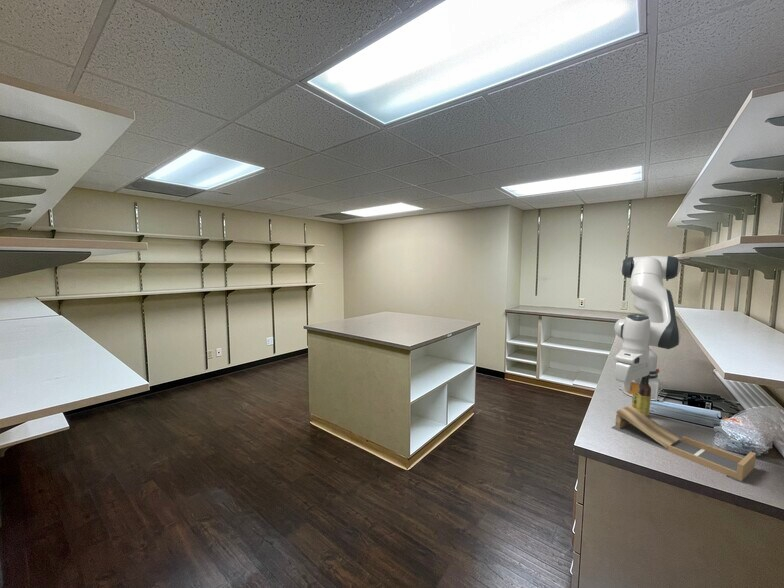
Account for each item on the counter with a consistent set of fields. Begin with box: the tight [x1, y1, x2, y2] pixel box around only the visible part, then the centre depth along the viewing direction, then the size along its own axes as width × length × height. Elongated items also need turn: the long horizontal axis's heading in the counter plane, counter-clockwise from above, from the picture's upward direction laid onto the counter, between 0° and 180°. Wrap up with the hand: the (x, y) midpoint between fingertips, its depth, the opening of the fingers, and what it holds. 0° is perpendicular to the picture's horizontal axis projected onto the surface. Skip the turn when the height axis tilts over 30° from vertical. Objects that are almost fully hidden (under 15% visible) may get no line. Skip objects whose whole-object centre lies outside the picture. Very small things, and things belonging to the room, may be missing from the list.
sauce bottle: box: [631, 373, 652, 418], centre depth 140 cm, size 6×6×20 cm
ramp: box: [614, 404, 681, 448], centre depth 124 cm, size 10×18×7 cm, turn 30°
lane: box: [610, 424, 757, 484], centre depth 116 cm, size 13×37×5 cm, turn 30°
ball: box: [624, 382, 640, 394], centre depth 128 cm, size 5×5×5 cm
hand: (631, 389), depth 128 cm, fingers closed on ball, 5 cm apart
